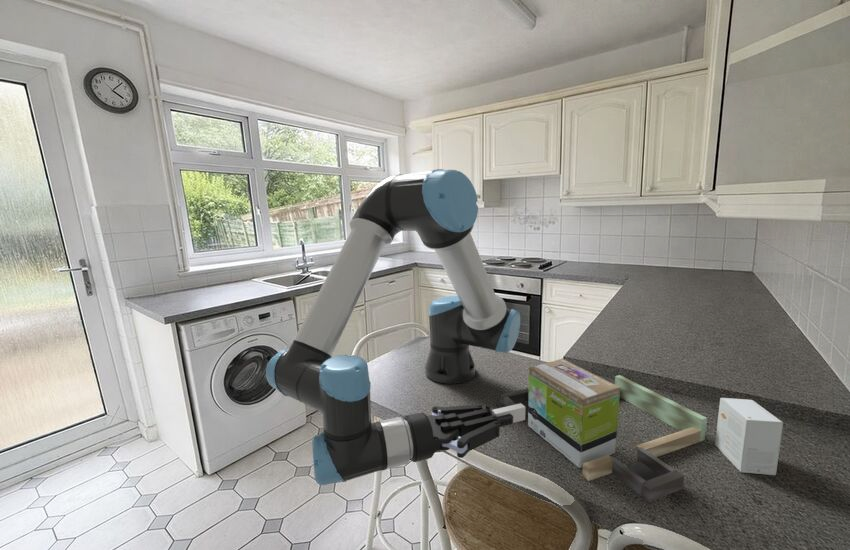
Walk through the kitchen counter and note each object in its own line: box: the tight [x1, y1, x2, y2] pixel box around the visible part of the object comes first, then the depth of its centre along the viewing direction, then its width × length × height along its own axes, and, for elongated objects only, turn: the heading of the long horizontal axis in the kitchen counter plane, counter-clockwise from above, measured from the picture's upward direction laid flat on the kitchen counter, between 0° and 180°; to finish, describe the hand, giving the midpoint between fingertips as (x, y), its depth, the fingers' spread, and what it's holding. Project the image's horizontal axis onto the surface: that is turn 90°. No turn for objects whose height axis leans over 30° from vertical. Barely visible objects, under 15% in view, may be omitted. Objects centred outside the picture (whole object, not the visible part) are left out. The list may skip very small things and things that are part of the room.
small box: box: [714, 397, 784, 476], centre depth 66 cm, size 8×6×10 cm
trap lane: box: [500, 374, 708, 503], centre depth 77 cm, size 36×31×5 cm
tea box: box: [527, 358, 620, 469], centre depth 73 cm, size 15×10×15 cm, turn 24°
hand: (522, 411), depth 69 cm, fingers closed
